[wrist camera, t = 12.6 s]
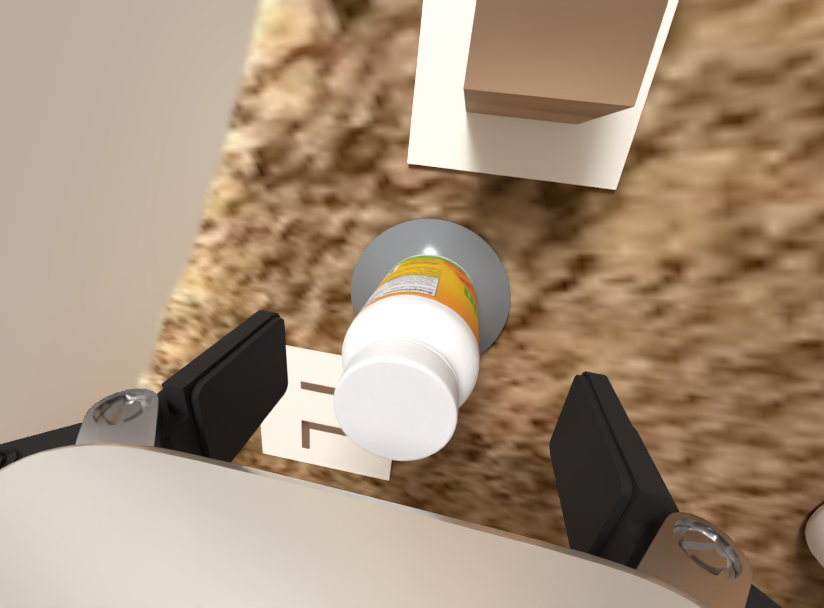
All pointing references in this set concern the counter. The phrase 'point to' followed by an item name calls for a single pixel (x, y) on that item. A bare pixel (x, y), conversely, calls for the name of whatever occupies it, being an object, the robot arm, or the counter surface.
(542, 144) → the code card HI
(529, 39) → the walnut block
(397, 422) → the supplement bottle
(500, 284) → the gray round coaster
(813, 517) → the milk bottle
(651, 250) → the counter surface
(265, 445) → the card
